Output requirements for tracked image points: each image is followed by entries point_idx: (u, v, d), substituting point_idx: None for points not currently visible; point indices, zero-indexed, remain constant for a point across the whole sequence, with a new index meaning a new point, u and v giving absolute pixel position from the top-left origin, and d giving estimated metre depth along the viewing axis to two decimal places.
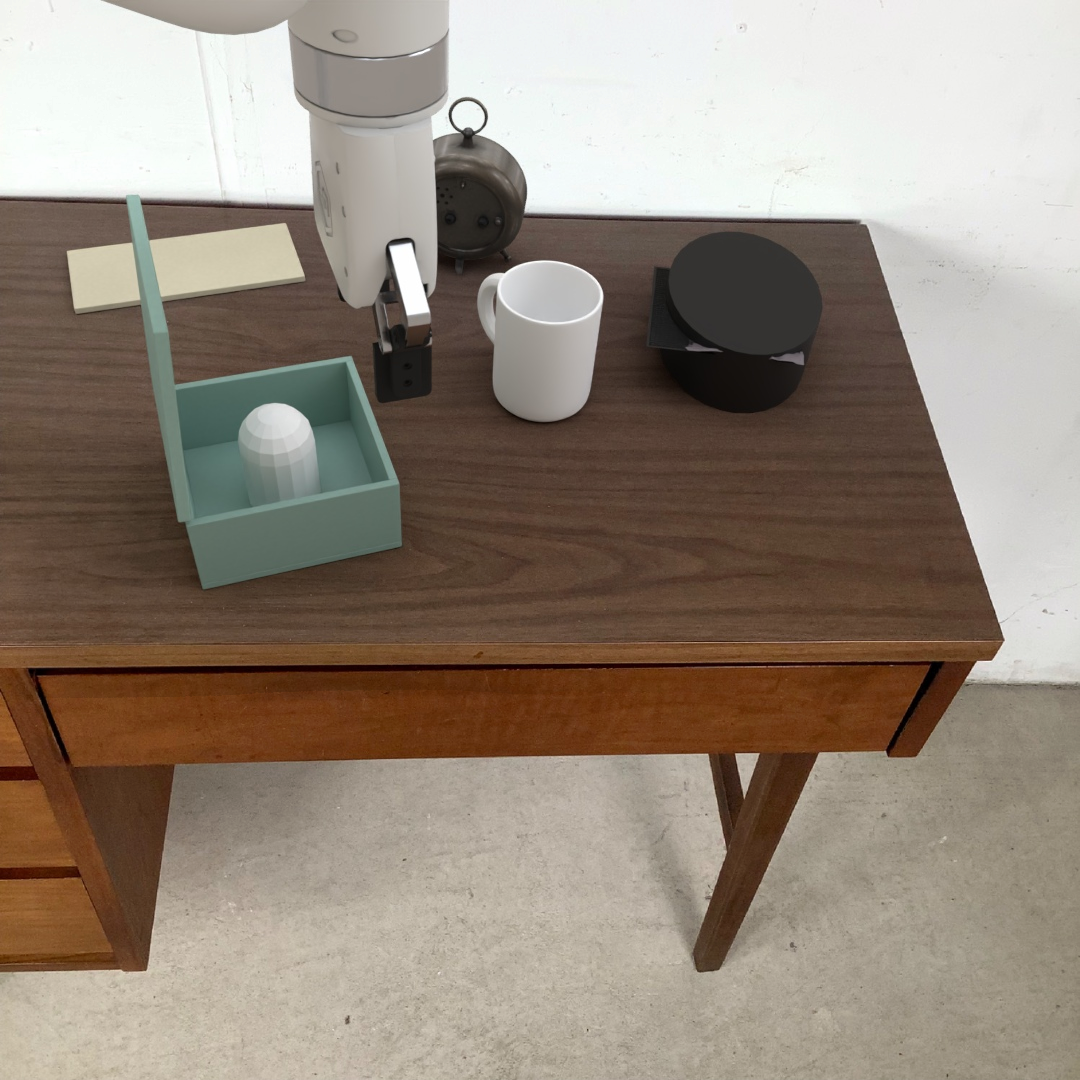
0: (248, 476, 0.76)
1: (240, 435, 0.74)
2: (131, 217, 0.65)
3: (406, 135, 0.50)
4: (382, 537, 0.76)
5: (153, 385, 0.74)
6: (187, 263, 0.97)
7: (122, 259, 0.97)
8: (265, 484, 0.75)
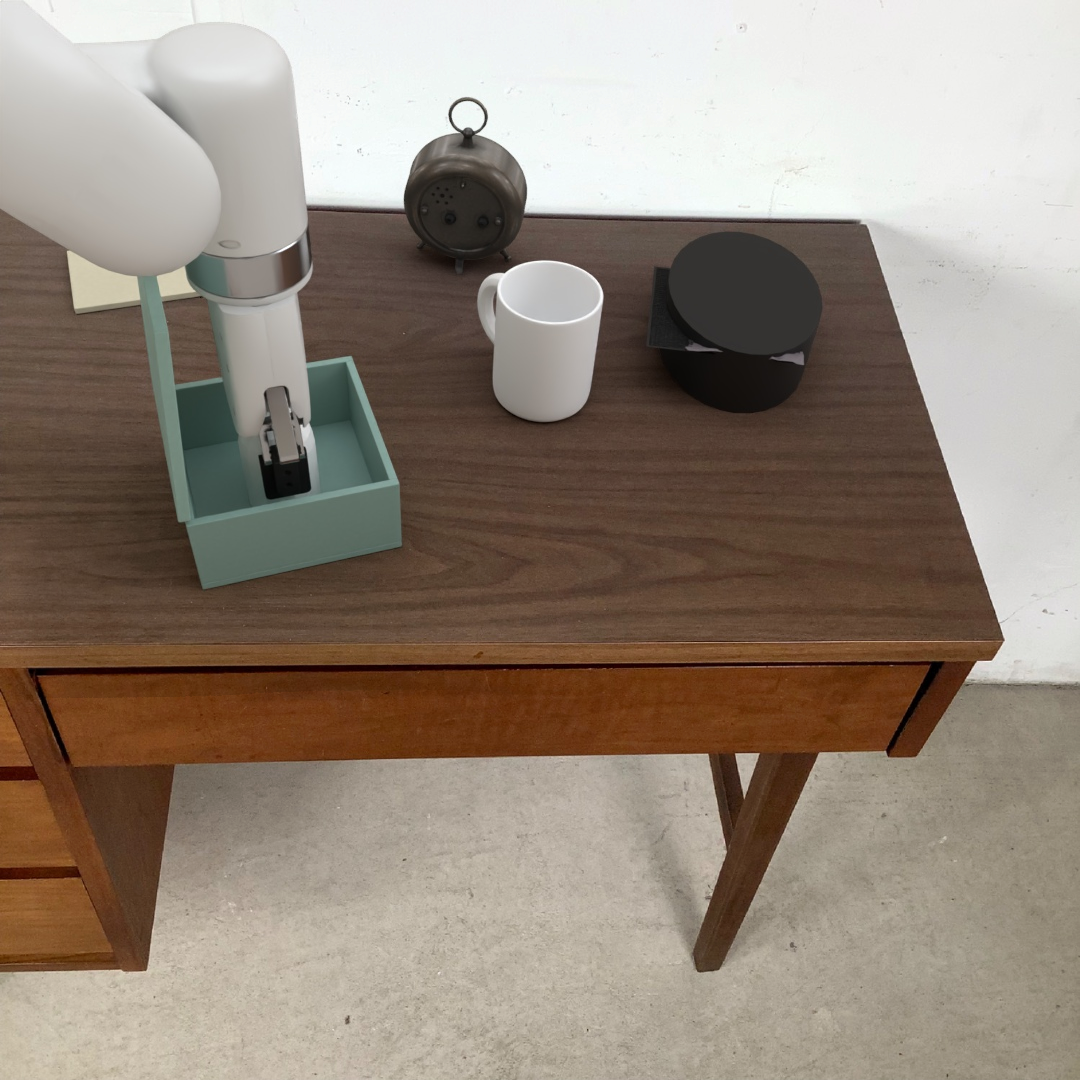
0: (248, 476, 0.76)
1: None
2: None
3: (273, 311, 0.63)
4: (382, 537, 0.76)
5: (153, 385, 0.74)
6: None
7: None
8: None
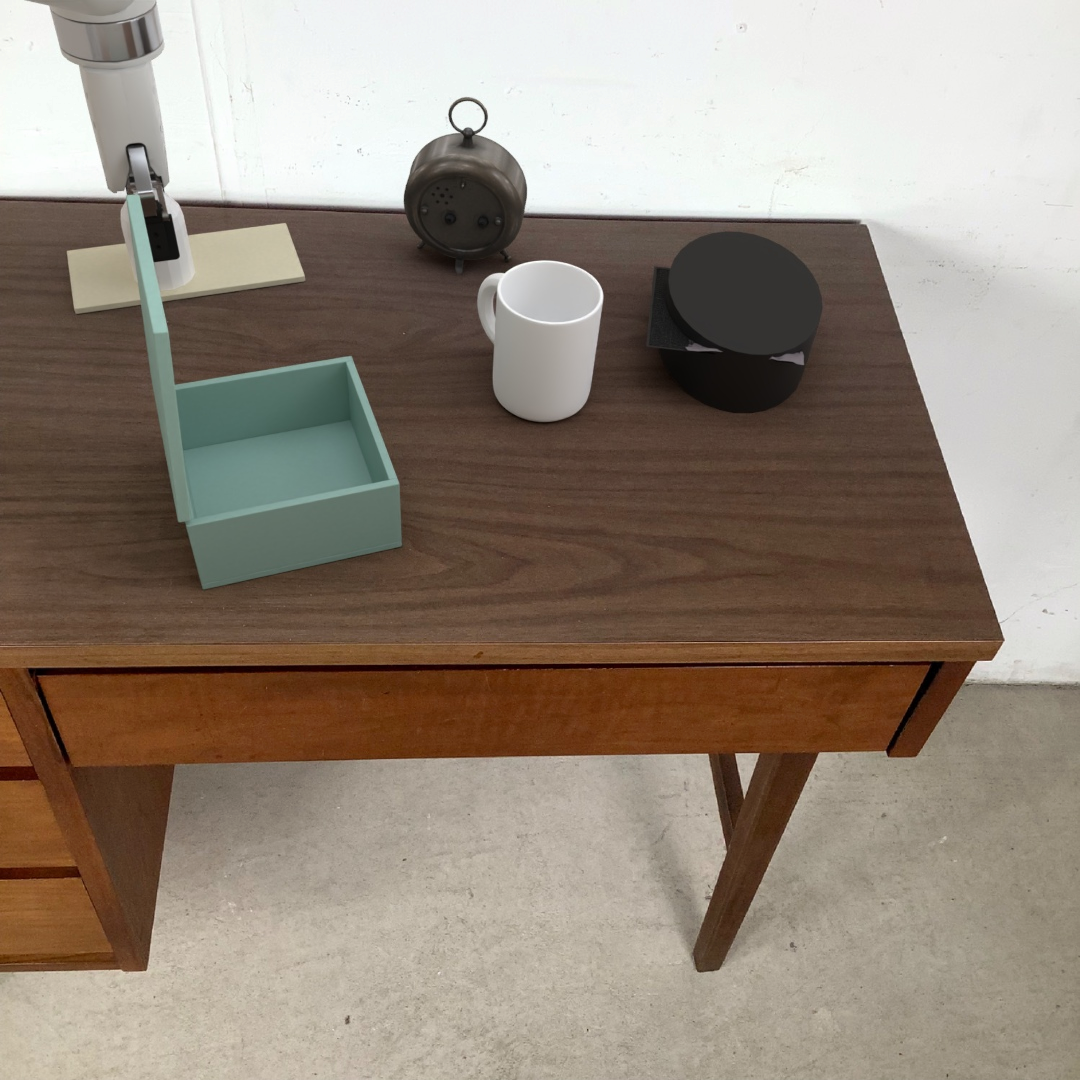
0: (130, 250, 0.92)
1: (121, 213, 0.91)
2: (131, 217, 0.65)
3: (127, 73, 0.79)
4: (382, 537, 0.76)
5: (153, 385, 0.74)
6: None
7: (122, 259, 0.97)
8: None
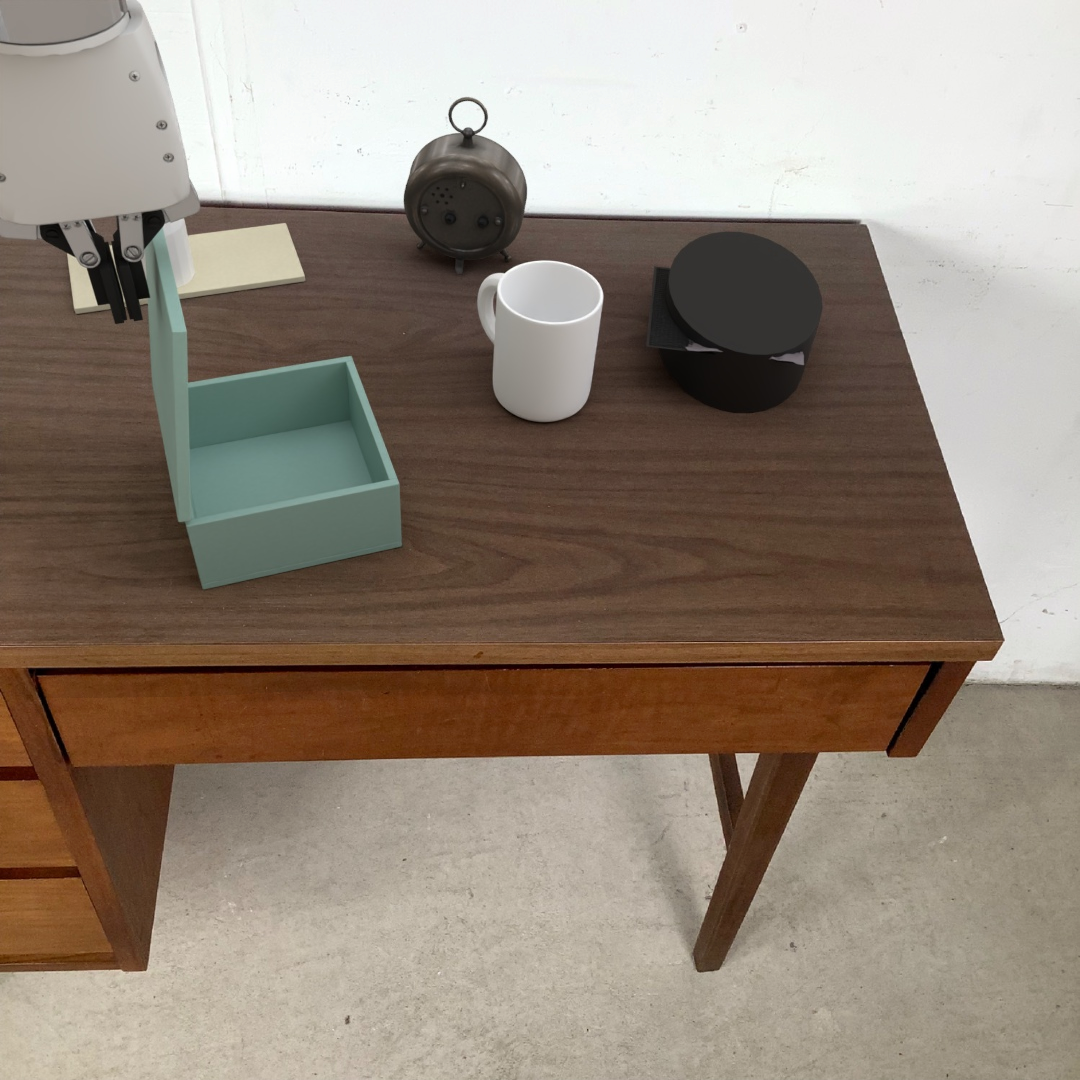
0: None
1: None
2: None
3: None
4: (382, 537, 0.76)
5: (155, 385, 0.74)
6: None
7: None
8: None
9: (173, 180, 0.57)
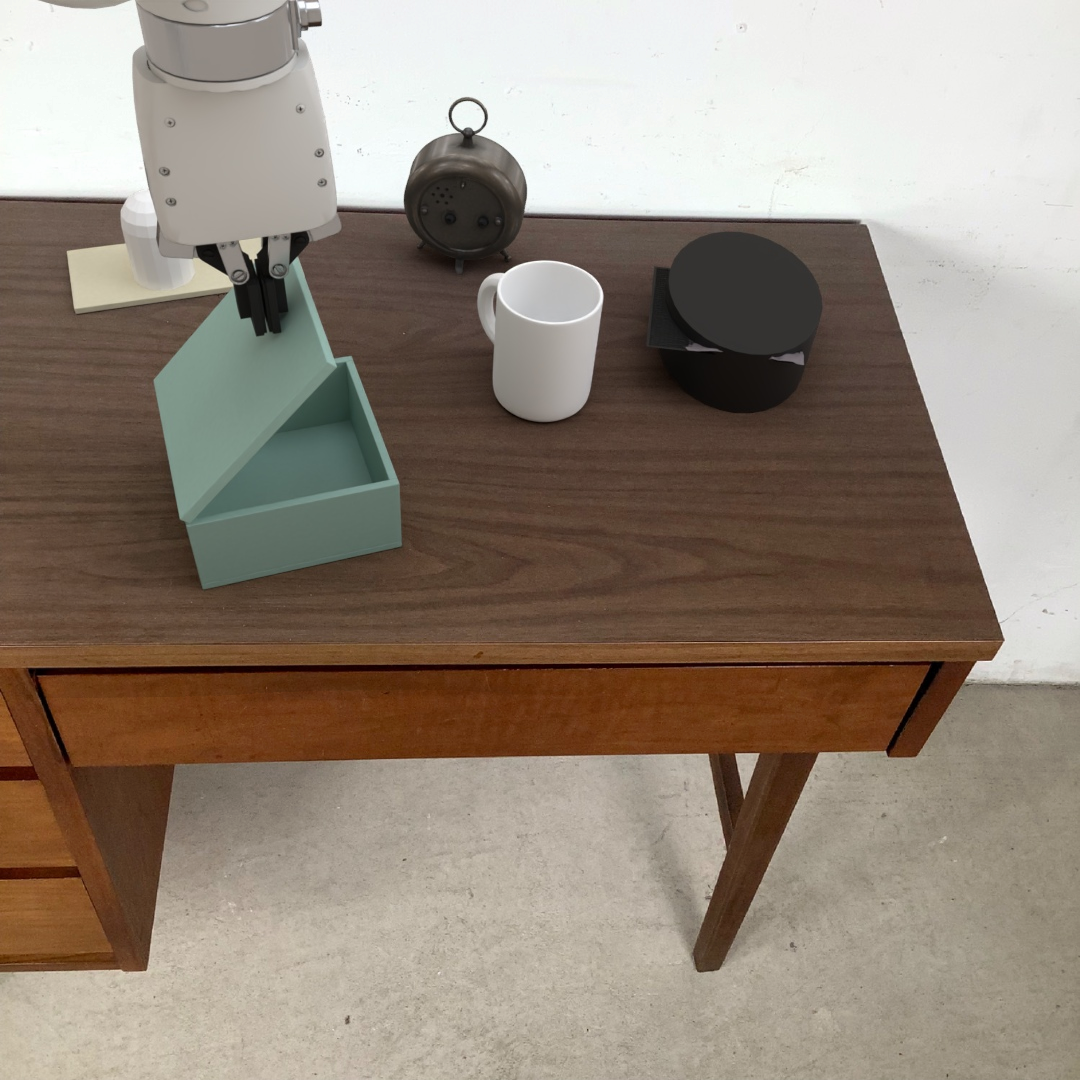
0: (130, 250, 0.92)
1: (121, 213, 0.91)
2: None
3: (139, 74, 0.54)
4: (382, 537, 0.76)
5: (174, 385, 0.74)
6: None
7: (122, 259, 0.97)
8: (143, 255, 0.92)
9: (324, 203, 0.61)
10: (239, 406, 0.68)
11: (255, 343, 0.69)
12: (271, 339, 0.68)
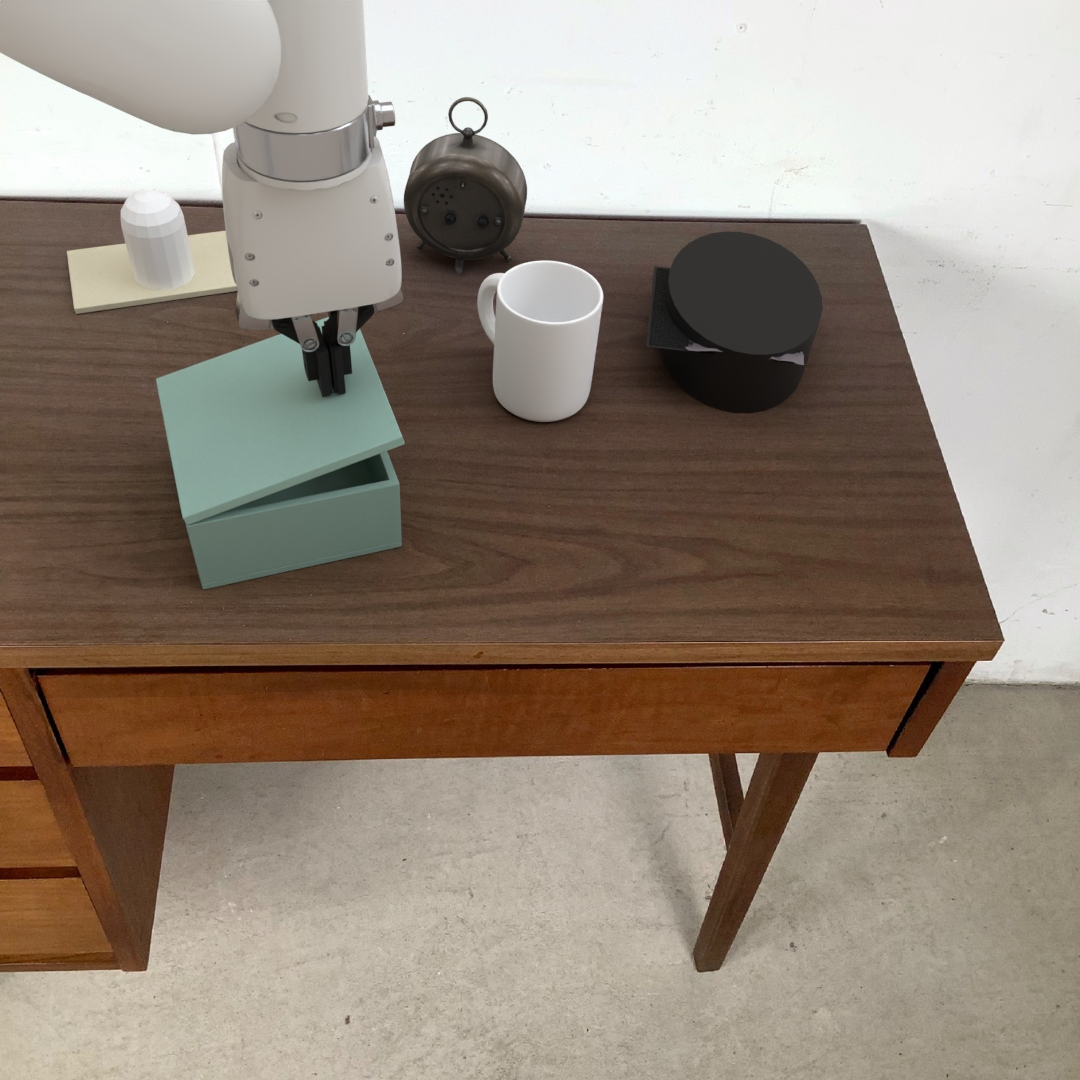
0: (130, 250, 0.92)
1: (121, 213, 0.91)
2: (360, 330, 0.77)
3: (230, 172, 0.59)
4: (382, 537, 0.76)
5: (188, 393, 0.75)
6: None
7: (122, 259, 0.97)
8: (143, 255, 0.92)
9: (390, 280, 0.67)
10: (281, 439, 0.71)
11: (308, 391, 0.74)
12: (330, 395, 0.73)
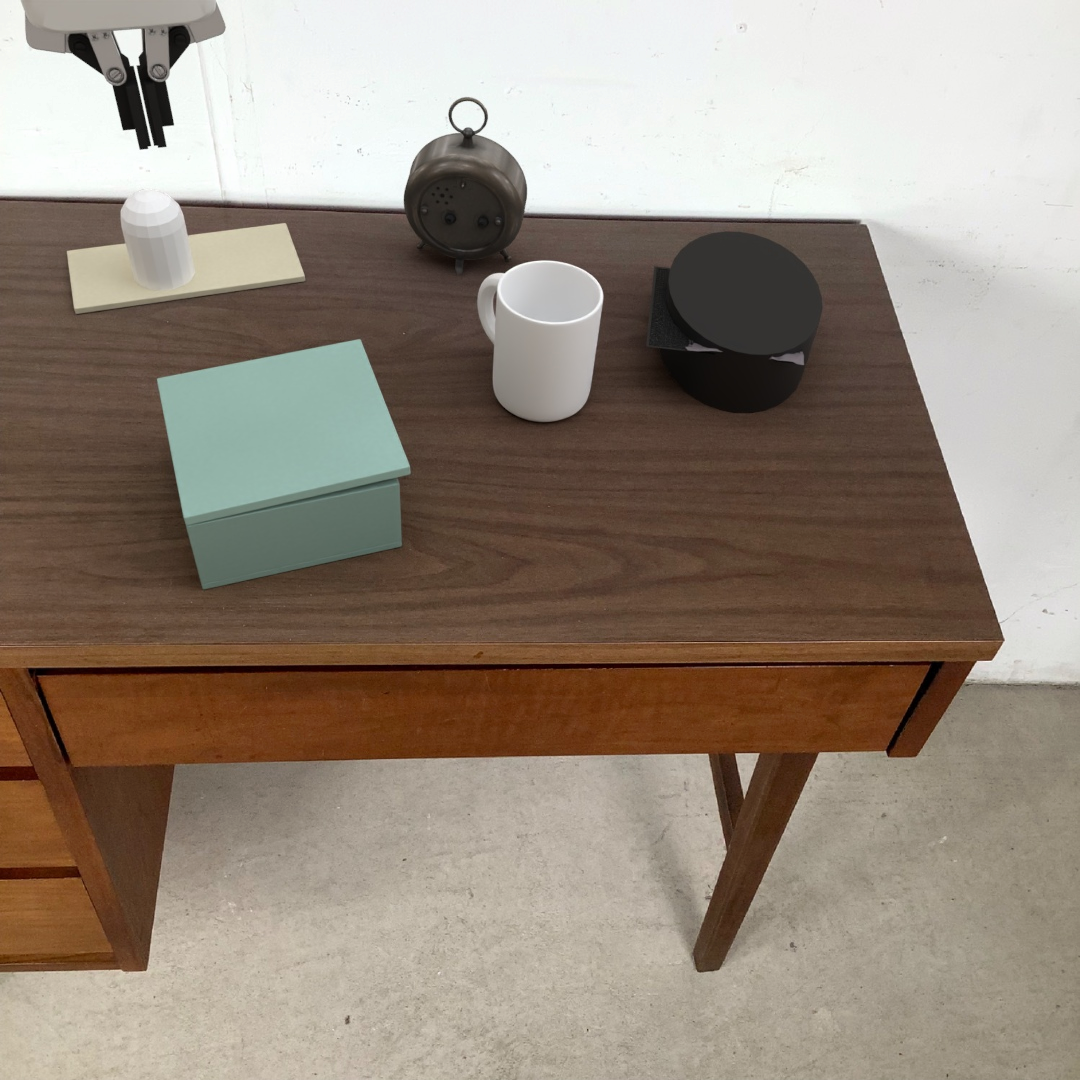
0: (130, 250, 0.92)
1: (121, 213, 0.91)
2: (368, 360, 0.79)
3: None
4: (382, 537, 0.76)
5: (191, 397, 0.76)
6: None
7: (122, 259, 0.97)
8: (143, 255, 0.92)
9: None
10: (287, 454, 0.72)
11: (315, 412, 0.75)
12: (338, 418, 0.75)
